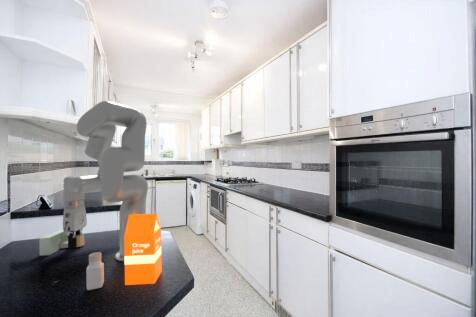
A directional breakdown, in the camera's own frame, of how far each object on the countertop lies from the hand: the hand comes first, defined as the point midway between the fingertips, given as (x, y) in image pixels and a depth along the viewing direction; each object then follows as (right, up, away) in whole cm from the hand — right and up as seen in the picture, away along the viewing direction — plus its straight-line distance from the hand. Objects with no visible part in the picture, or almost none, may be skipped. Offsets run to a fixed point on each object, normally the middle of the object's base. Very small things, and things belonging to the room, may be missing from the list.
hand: (74, 245), depth 101 cm
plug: (-4, -1, 0) cm, 4 cm away
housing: (-7, -1, -1) cm, 7 cm away
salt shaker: (+30, +1, -34) cm, 46 cm away
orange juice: (+43, +1, -30) cm, 52 cm away
